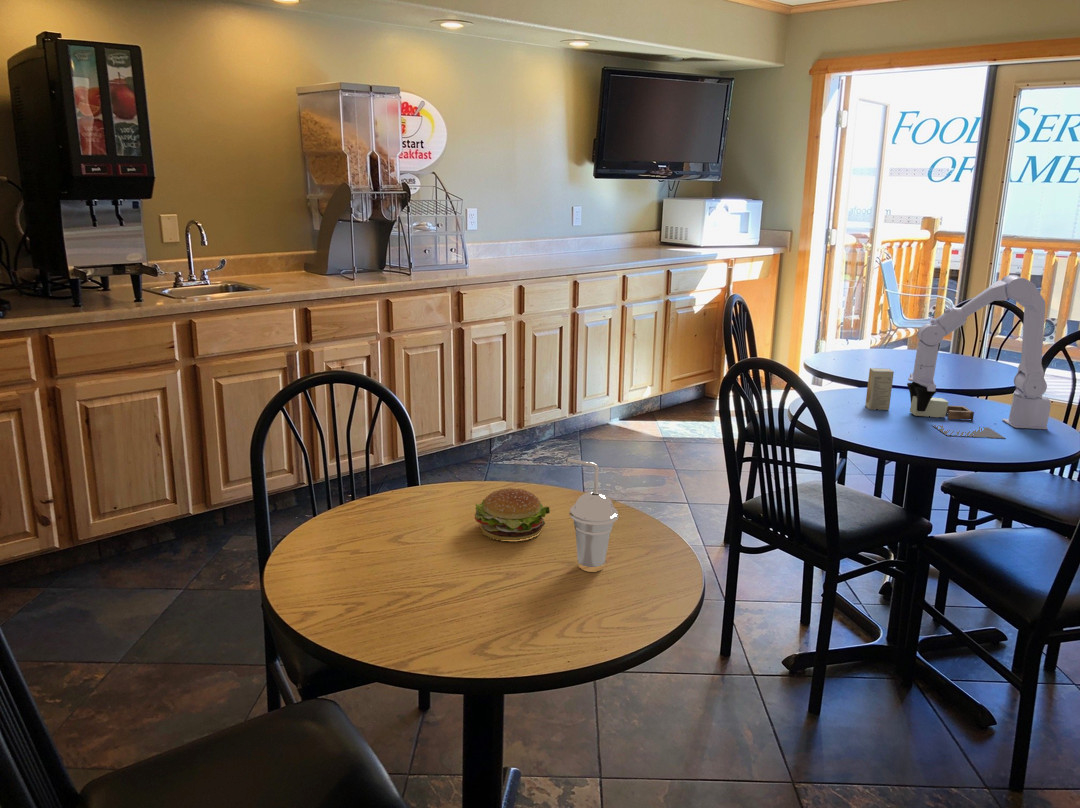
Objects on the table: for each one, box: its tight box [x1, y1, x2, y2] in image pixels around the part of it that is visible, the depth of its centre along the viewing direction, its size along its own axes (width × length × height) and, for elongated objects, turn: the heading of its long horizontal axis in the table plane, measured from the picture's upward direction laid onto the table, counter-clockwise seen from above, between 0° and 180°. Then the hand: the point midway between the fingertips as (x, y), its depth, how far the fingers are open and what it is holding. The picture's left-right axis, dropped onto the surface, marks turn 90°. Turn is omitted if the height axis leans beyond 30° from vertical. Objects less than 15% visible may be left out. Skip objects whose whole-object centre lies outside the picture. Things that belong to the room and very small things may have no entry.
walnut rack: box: [946, 405, 975, 421], centre depth 251 cm, size 7×7×2 cm
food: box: [474, 487, 551, 541], centre depth 159 cm, size 14×14×8 cm
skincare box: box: [864, 367, 895, 411], centre depth 256 cm, size 6×4×12 cm
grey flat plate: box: [933, 424, 1006, 440], centre depth 236 cm, size 16×10×1 cm, turn 88°
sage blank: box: [909, 396, 949, 418], centre depth 251 cm, size 9×4×5 cm, turn 88°
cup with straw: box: [565, 457, 619, 567], centre depth 144 cm, size 8×9×20 cm
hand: (918, 408), depth 251 cm, fingers closed on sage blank, 4 cm apart
